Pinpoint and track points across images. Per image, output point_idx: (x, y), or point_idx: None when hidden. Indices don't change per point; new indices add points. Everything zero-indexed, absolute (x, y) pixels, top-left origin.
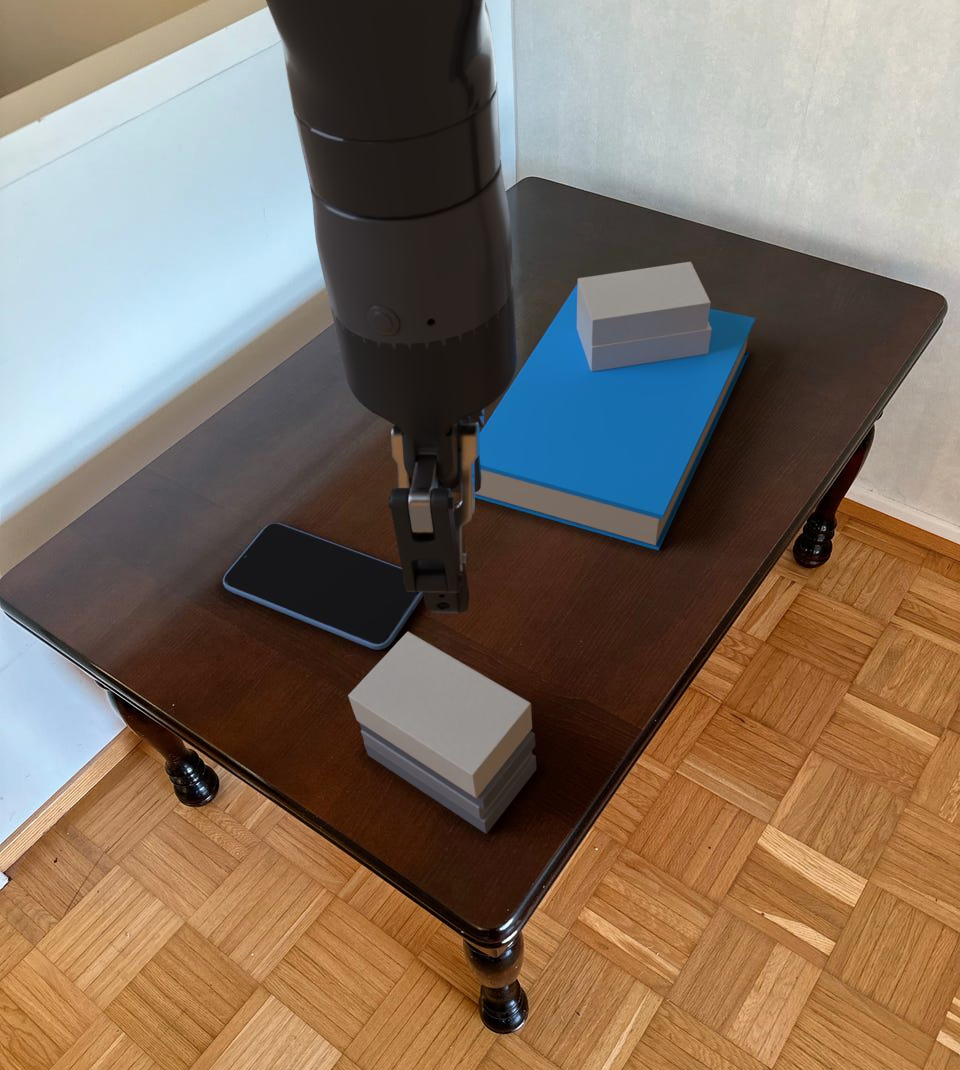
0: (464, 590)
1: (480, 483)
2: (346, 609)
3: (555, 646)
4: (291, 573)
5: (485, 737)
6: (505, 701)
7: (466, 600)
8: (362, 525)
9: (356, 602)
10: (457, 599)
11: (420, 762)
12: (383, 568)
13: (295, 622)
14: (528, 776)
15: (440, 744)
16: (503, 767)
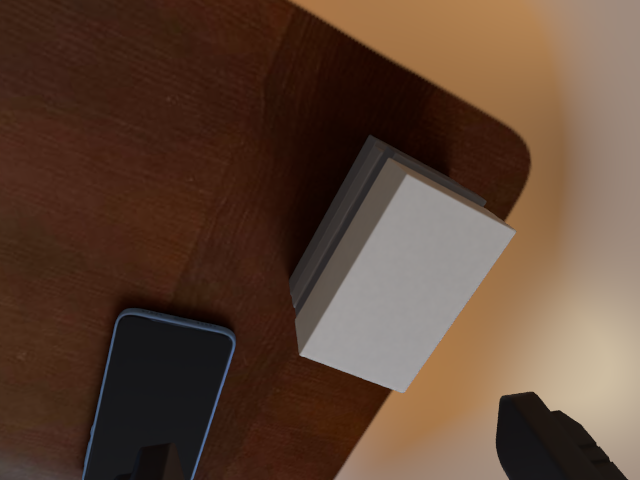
0: (572, 443)
1: (166, 457)
2: (191, 385)
3: (184, 133)
4: None
5: (462, 225)
6: (405, 209)
7: (553, 415)
8: (49, 399)
9: (179, 378)
10: (585, 445)
11: None
12: (118, 364)
13: (212, 421)
14: (385, 143)
15: (472, 278)
16: (446, 185)
